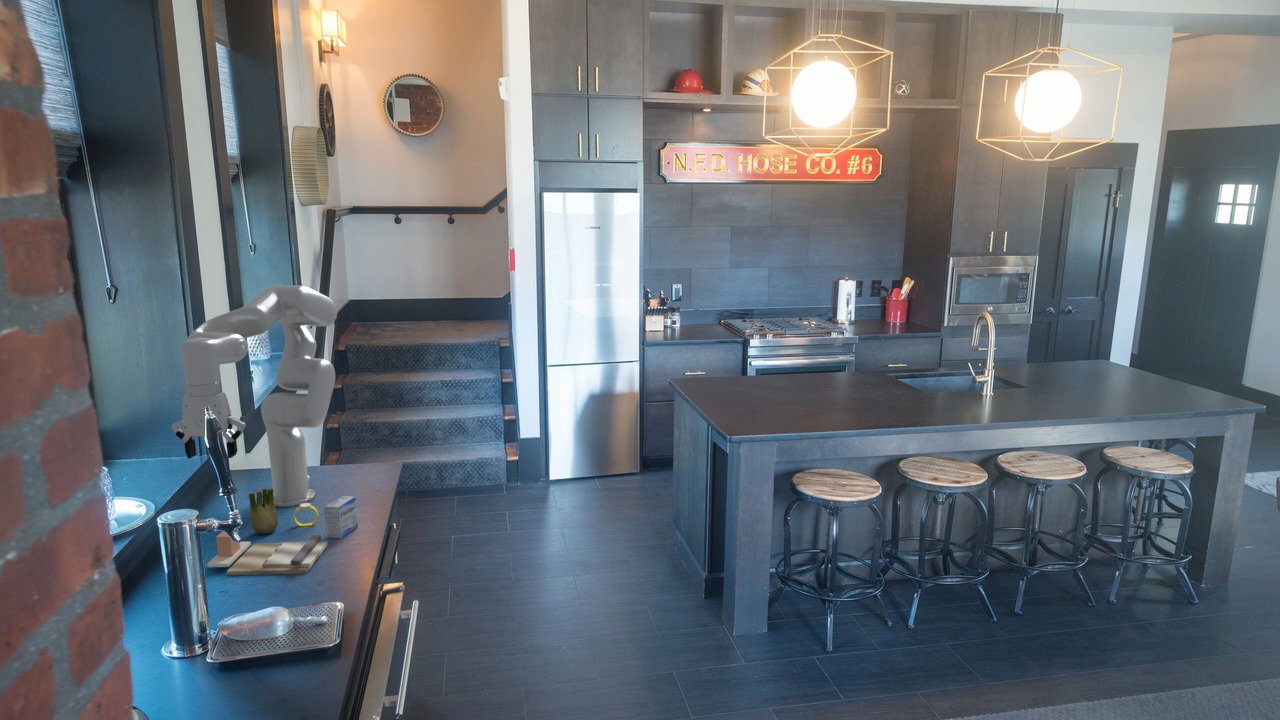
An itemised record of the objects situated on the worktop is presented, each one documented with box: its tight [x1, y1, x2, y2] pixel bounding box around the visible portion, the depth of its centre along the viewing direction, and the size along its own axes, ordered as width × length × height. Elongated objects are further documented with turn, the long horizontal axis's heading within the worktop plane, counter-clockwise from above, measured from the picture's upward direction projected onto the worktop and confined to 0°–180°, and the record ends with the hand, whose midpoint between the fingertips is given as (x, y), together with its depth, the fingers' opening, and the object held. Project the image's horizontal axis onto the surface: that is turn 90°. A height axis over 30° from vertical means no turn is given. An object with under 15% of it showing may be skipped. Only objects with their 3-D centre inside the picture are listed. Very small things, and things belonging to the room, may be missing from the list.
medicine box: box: [323, 495, 359, 539], centre depth 204 cm, size 8×4×9 cm, turn 168°
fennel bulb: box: [248, 487, 279, 535], centre depth 204 cm, size 6×5×12 cm
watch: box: [292, 502, 319, 528], centre depth 209 cm, size 6×3×6 cm, turn 108°
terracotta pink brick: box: [206, 528, 252, 568], centre depth 188 cm, size 12×5×6 cm, turn 3°
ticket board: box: [226, 535, 329, 576], centre depth 189 cm, size 15×18×3 cm
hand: (212, 456), depth 193 cm, fingers open, 9 cm apart
